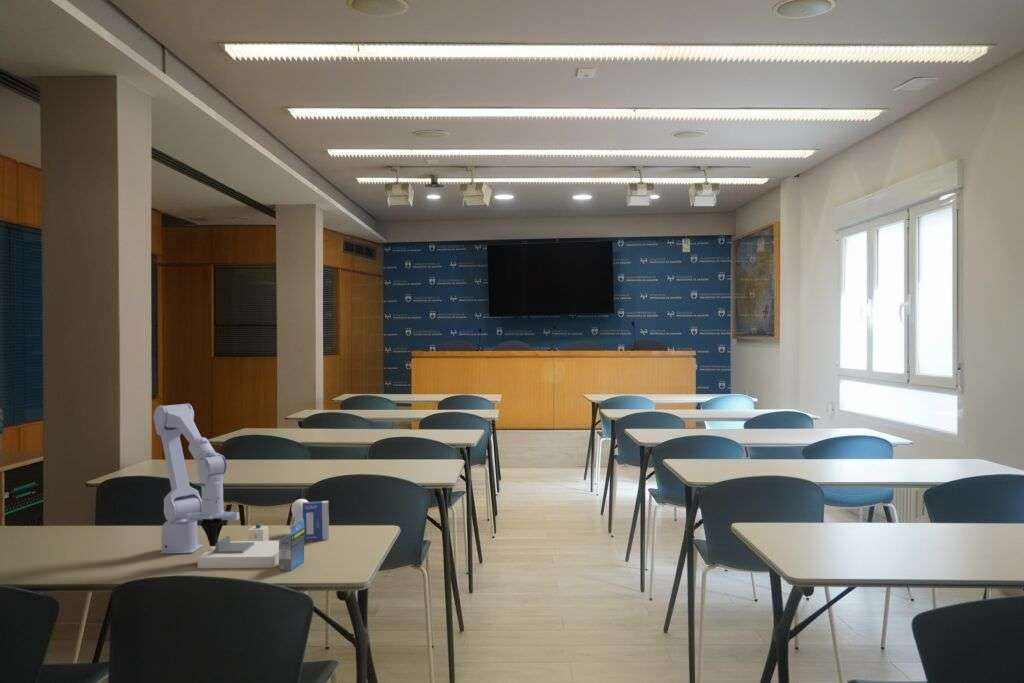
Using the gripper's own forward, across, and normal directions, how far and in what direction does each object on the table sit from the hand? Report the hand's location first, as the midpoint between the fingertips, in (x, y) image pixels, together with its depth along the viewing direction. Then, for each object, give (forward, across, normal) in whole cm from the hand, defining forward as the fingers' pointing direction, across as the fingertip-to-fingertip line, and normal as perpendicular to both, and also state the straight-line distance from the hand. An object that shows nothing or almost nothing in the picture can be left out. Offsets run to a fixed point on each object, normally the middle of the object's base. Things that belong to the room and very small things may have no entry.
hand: (213, 545), depth 213 cm
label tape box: (+4, +25, -7) cm, 26 cm away
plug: (+4, +8, +14) cm, 17 cm away
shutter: (+1, +6, 0) cm, 6 cm away
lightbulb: (+4, +17, +28) cm, 33 cm away
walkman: (+4, +24, +20) cm, 31 cm away
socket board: (+4, +9, 0) cm, 10 cm away
